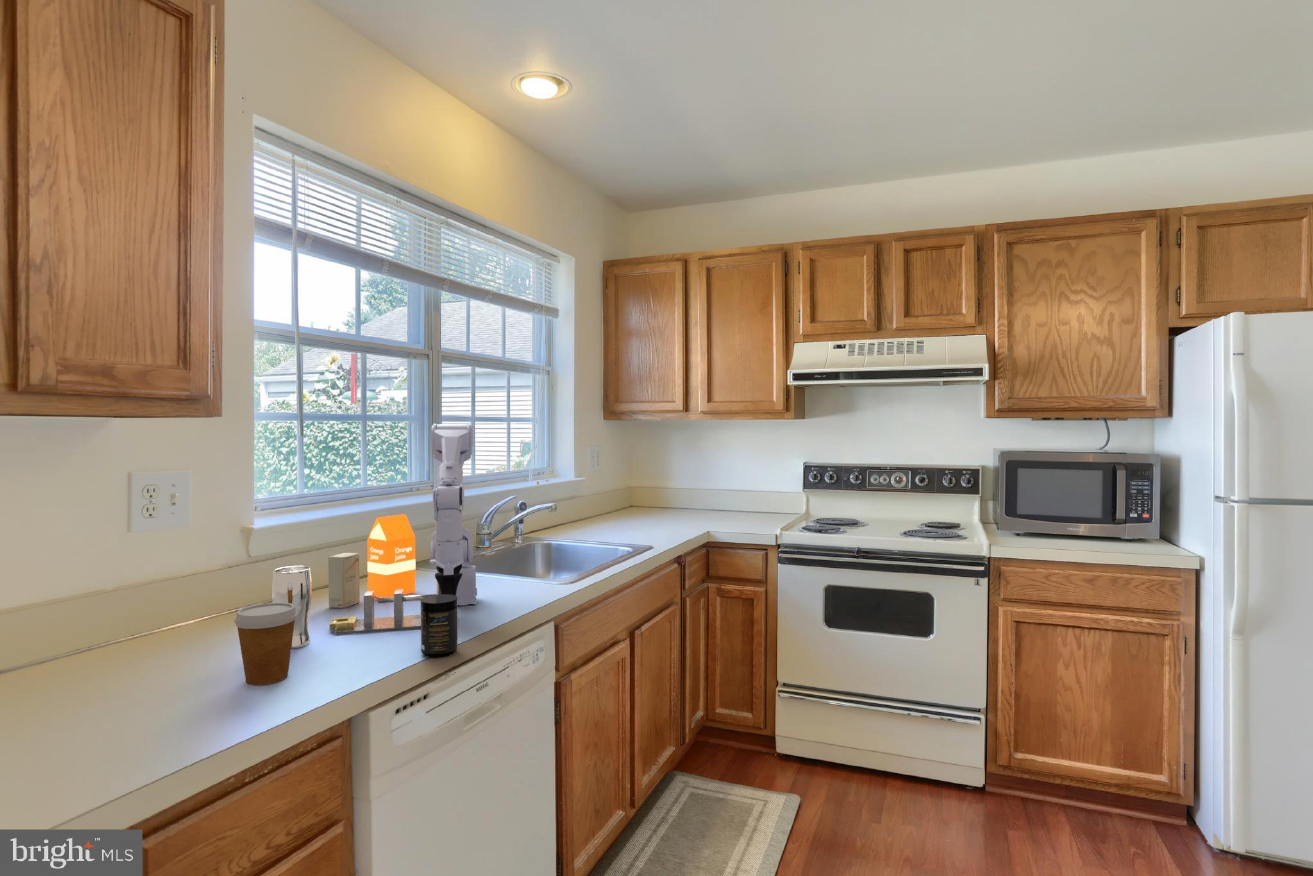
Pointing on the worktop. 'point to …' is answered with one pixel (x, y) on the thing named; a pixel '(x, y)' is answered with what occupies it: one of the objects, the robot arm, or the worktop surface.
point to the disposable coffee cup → (266, 641)
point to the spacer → (343, 623)
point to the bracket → (383, 618)
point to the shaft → (407, 597)
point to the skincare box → (343, 580)
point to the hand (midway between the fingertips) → (449, 601)
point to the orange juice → (391, 556)
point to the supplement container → (439, 625)
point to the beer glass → (295, 598)
